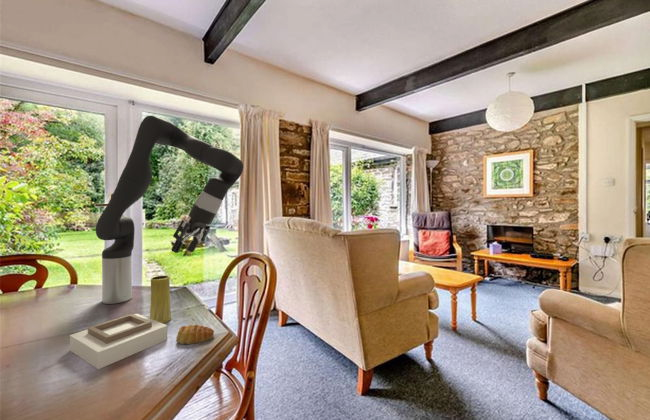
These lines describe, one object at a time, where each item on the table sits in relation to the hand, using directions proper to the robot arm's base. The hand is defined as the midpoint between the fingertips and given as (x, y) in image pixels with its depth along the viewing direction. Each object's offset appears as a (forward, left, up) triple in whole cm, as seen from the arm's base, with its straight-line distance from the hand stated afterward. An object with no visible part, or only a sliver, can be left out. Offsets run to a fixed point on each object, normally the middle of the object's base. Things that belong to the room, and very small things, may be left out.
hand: (182, 251), depth 89 cm
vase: (-5, -4, -23) cm, 24 cm away
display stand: (+1, -18, -23) cm, 29 cm away
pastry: (+14, -6, -23) cm, 28 cm away
